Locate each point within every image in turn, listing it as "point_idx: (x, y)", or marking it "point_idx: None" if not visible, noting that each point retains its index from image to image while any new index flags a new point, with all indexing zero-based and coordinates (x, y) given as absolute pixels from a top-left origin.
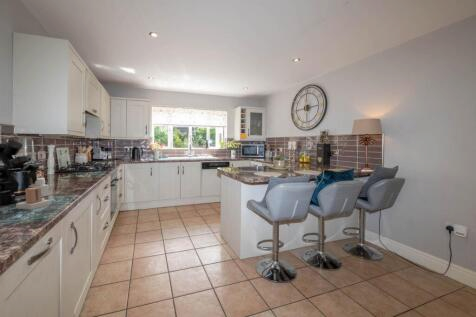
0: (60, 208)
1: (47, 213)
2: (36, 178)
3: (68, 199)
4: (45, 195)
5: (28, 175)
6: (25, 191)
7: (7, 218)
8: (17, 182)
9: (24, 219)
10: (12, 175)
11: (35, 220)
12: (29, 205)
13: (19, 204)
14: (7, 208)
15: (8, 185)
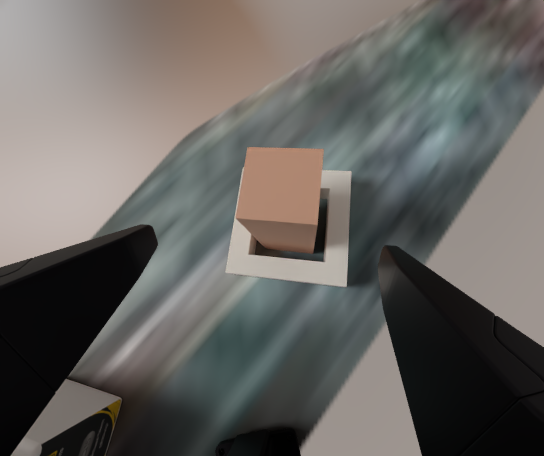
0: (300, 87)
1: (373, 72)
2: (124, 230)
3: (153, 183)
4: (74, 384)
5: (18, 434)
6: (316, 229)
7: (484, 154)
8: (386, 246)
9: (465, 78)
10: (494, 360)
11: (458, 34)
12: (350, 182)
13: (346, 259)
14: (354, 342)
15: None
